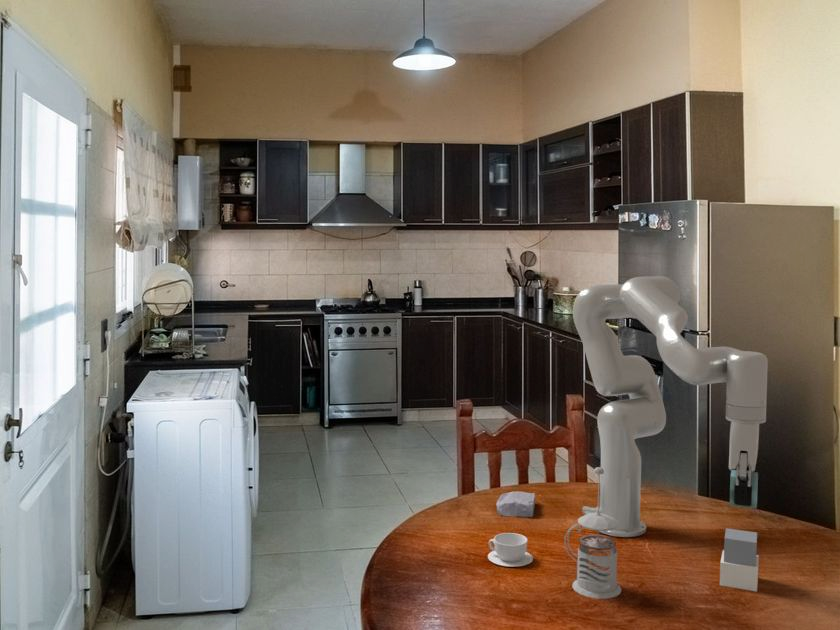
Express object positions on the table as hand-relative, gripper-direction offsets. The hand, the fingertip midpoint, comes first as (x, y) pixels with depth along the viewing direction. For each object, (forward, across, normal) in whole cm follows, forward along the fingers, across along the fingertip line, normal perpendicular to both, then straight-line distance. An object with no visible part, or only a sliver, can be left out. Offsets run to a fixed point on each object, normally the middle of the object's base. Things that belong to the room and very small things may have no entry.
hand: (743, 499), depth 158 cm
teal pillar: (+1, 0, 0) cm, 1 cm away
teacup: (+17, +8, -47) cm, 51 cm away
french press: (+17, +15, -27) cm, 36 cm away
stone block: (+17, -23, -56) cm, 63 cm away
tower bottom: (+18, 0, 0) cm, 18 cm away
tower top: (+13, 0, 0) cm, 13 cm away
